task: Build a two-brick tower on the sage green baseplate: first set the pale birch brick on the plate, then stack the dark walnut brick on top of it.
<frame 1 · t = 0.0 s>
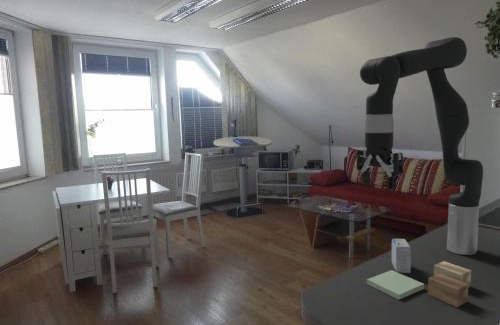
hand: (378, 187, 101), 29 cm above the worktop, tool pointing down, fingers open, 8 cm apart
medicine box: (400, 268, 115), on the worktop
walnut brick: (447, 298, 96), on the worktop
baseplate: (394, 286, 103), on the worktop
birch brick: (451, 283, 104), on the worktop
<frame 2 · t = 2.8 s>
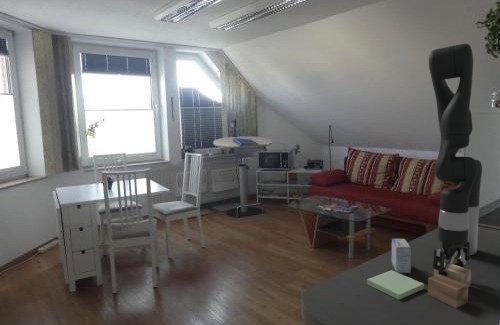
hand: (451, 279, 104), 1 cm above the worktop, tool pointing down, fingers open, 8 cm apart
nothing on the worktop moved.
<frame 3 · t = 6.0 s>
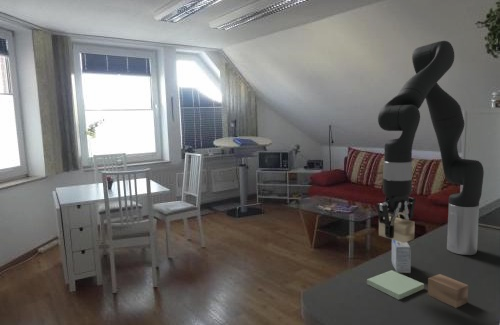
hand: (396, 235, 101), 16 cm above the worktop, tool pointing down, fingers closed on birch brick, 5 cm apart
birch brick: (396, 237, 101), point 15 cm above the worktop, touching gripper
everything else where it was.
when the fingers open (3 cm above the worktop, at t = 8.7 s): birch brick drops 1 cm, resting on baseplate.
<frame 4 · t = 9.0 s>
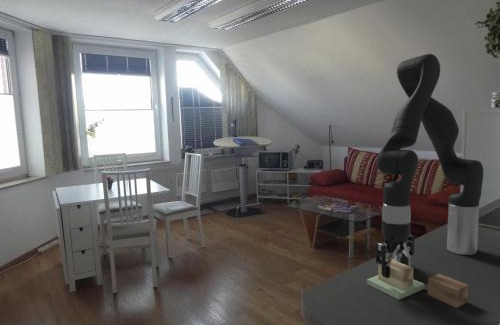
hand: (395, 273, 103), 4 cm above the worktop, tool pointing down, fingers open, 7 cm apart
birch brick: (395, 281, 103), point 1 cm above the worktop, touching baseplate
everything else where it was.
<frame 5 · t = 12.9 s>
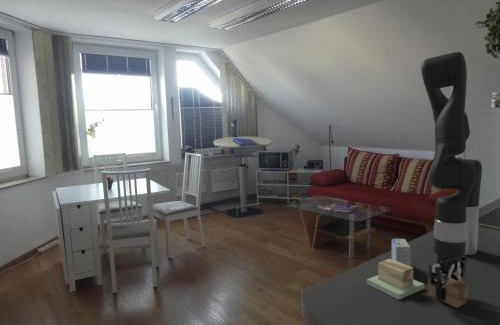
hand: (447, 296, 96), 1 cm above the worktop, tool pointing down, fingers open, 5 cm apart
walnut brick: (447, 298, 96), on the worktop, touching gripper
everything else where it was.
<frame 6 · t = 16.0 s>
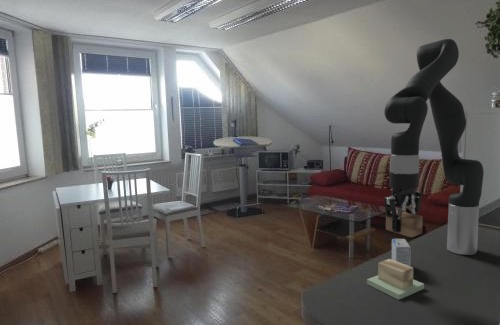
hand: (402, 229, 100), 18 cm above the worktop, tool pointing down, fingers closed on walnut brick, 5 cm apart
walnut brick: (403, 231, 100), point 17 cm above the worktop, touching gripper
everything else where it was.
when the fingers open (8 cm above the worktop, at t = 18.8 s): walnut brick drops 1 cm, resting on birch brick.
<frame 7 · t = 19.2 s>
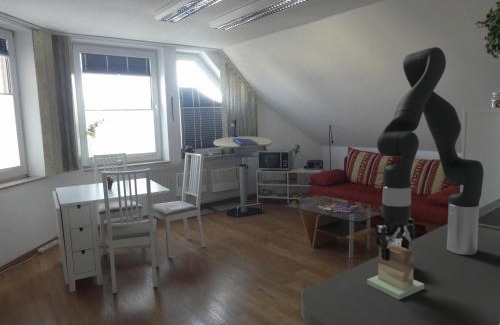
hand: (395, 256, 102), 9 cm above the worktop, tool pointing down, fingers open, 8 cm apart
walnut brick: (396, 265, 102), point 6 cm above the worktop, touching birch brick
birch brick: (395, 281, 103), point 1 cm above the worktop, touching baseplate, walnut brick
everything else where it was.
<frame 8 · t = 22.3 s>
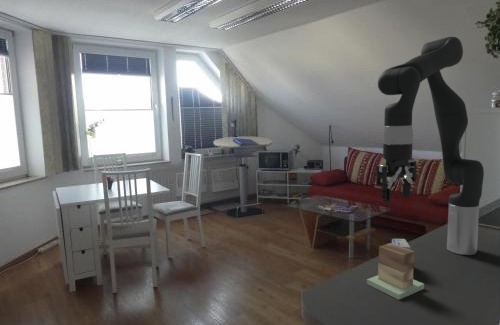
hand: (396, 199, 100), 26 cm above the worktop, tool pointing down, fingers open, 8 cm apart
nothing on the worktop moved.
at the end: birch brick inside the target area (0.1 cm from its centre), point 1.5 cm above the worktop; walnut brick 0.2 cm off-centre on the birch brick, point 5.0 cm above the birch brick's base; walnut brick tilted 0° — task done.
